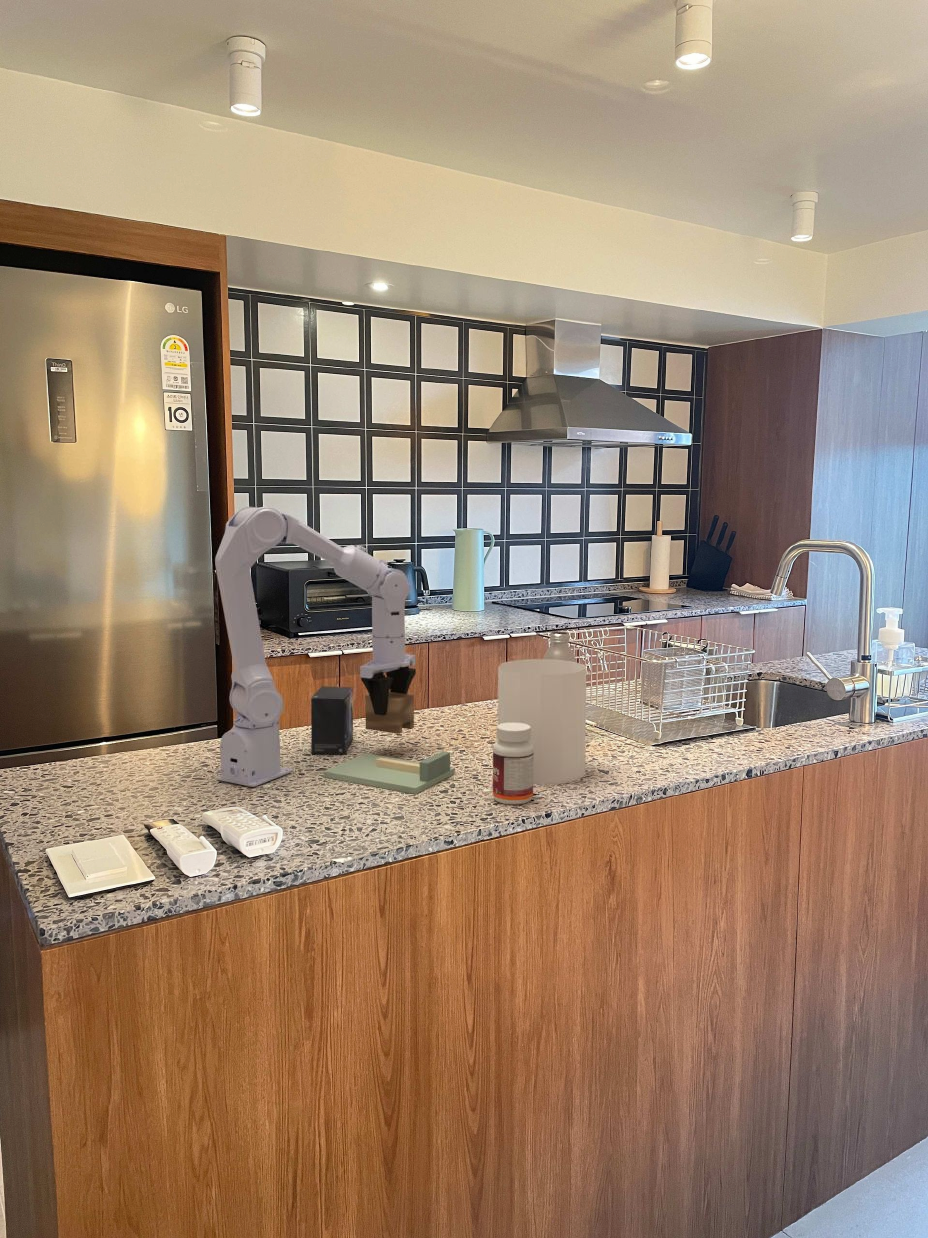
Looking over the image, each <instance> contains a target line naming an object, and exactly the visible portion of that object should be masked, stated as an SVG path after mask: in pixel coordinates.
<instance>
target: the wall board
mask: <svg viewBox="0 0 928 1238" xmlns="http://www.w3.org/2000/svg"><path fill="white" fill-rule="evenodd" d="M455 769H456V768H455V767H451V752H450V751H449V752H448V751H440V752H438V753H435V754H434V755H432V756H429V757H427V758H426V759H423V760H421V761H414V760H408V759H402V758H396V757H391V756H383V755H378V754H372V753H368V752H367V753H363V754H361V755H359V756H356V757H353V758H352V759H350V760H346V761H344V762H342V763H340V764H338V765H335V766H332V767H330V768H327V769H326V770H323V775H322V776H323V778H326V779H333V780H336V781H337V780H338V781H343V782H349V783H352V784H353V783H354V784H358V785H363V786H364V785H365V786H369V787H374V788H378V789H379V788H380V789H385V790H390V791H396V792H400V793H405V794H411V795H418V794H419V793H421V792H424V791H426V790H427V789H429V788H431V787H433V786H434V785H436V784H438V783H440V782H442V781H444V780H446V779H448V778H450V777H452V776H454V775H455V774H456V770H455Z"/></svg>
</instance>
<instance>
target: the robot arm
mask: <svg viewBox="0 0 928 1238" xmlns="http://www.w3.org/2000/svg"><path fill="white" fill-rule="evenodd" d="M278 544H287V545H288V544H293V545H295V546H298V547H299V548H302V549H303V550H305V551H307V552H309V553H311V554H312V555H314V556H317V557H318V558H320V559H322V560H325V561H326V562H329V563H330V564H332V567H333V570H334V573H335V574H336V575H337V576H338V577H340V578H342V579H343V580H346V581H348V582H349V583H351V584H353V585H355V586H357V587H359V588H360V589H362V590H363V591H366V592H367V594H368V595H369V597H371V620H372V621H371V624H372V625H371V629H372V630H371V631H372V634H371V635H372V638H371V639H372V643H371V644H372V660H370V661H368V662H367V663H365V664H363V665H361V666H359V676H360V680H361V682H362V684H363V685H364V687H365V689H366V691H367V693H368V695H369V696H370V699H371V702H372V706H373V710H374V713H375V714H376V715H386V713H387V706H388V695H389V692H394V693H402V694H408V692H409V689H410V686H411V684H412V681H413V680H414V678H415V676H416V674H417V672H416V670H417V669H416V668H411V667H414V666H416V665H417V664H416V663H417V662H416V659H417V658H416V654H408V653H406V646H405V645H406V644H405V643H406V634H405V633H406V631H405V630H406V629H405V628H406V627H405V625H406V623H405V622H406V621H405V614H406V613H405V608H406V605H405V604H406V599H407V597H408V596H409V595H410V592H411V588H412V584H411V583H409V579H408V577H407V575H406V574H405V573H404V571H402V570H400V569H398V568H390V567H388V561H386V560H384V559H380V560H379V559H377V558H375V557H374V556H372V555H371V554H369V553H367V552H366V551H367V548H365V547H364V546H362V545H356V546H355V545H353V544H351V545H347V546H344V547H342V546H340V545H339V544H337V543H336V542H334V541H332V540H331V539H329V538H328V537H326V536H324V535H323V534H321V533H319V532H318V531H317V530H315V529H313V528H312V527H310V526H308V525H307V524H306V523H303V522H302V521H300V520H299V519H297V518H295V517H293V516H291V515H290V514H288V513H284V512H282V513H281V512H280V511H279V510H278V509H275V508H274V507H271V506H262V507H254V506H245V507H242V508H241V509H239V510H238V511H236V512H235V513H234V514H233V515H232V517H230V519H228V521H227V522H226V524H225V529H224V534H223V537H222V539H221V543H220V544H219V547H218V550H217V553H216V555H215V559H214V562H215V564H214V565H215V569H216V570H215V571H216V575H217V581H218V587H219V591H220V598H221V604H222V608H223V614H224V621H225V625H226V630H227V631H226V632H227V636H228V640H229V642H228V643H229V646H230V647H229V648H230V653H231V657H232V663H233V669H232V672H231V676H230V677H231V689H230V692H229V704H230V706H231V708H232V709H233V710H234V711H235V712H236V714H235V717H234V719H233V726H232V728H231V729H230V730H228V731H227V732H225V733H223V735H222V736H221V739H220V742H219V752H220V753H219V755H220V775H219V776H218V777H217V780H218V781H221V782H227V783H231V784H236V785H237V784H238V785H241V786H242V785H243V786H247V787H250V788H251V787H252V788H253V787H257V786H259V785H262V784H265V783H267V782H269V781H272V780H274V779H275V780H276V779H278V778H280V777H282V776H285V775H288V774H291V773H292V772H293V770H292V768H288V767H283V766H281V747H280V746H281V745H280V743H281V742H280V741H281V740H280V718H281V717H280V716H281V715H282V713H283V711H284V699H283V697H282V695H281V694H280V692H279V691H278V689H276V688H277V687H276V685H275V683H274V678H273V675H272V673H271V672H270V669H269V668H268V665H267V662H266V661H267V660H266V656H265V650H264V645H263V639H262V633H261V628H260V627H261V625H260V622H259V616H258V615H259V614H258V611H257V605H256V599H255V592H254V587H253V582H252V576H251V568H252V567H253V566H254V565H255V563H256V562H257V561H258V559H259V558H260V557H261V556H262V555H263V554H265V553H266V552H267V551H269V550H271V549H272V548H274V547H275V546H277V545H278Z"/></svg>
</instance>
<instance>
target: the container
mask: <svg viewBox="0 0 928 1238" xmlns="http://www.w3.org/2000/svg"><path fill="white" fill-rule="evenodd" d="M497 697H498V698H497V726H498V725H499V724H502V723H524V724H527V725H529V726H530V727H531V738H530V739H529V740H527V741H529V742H530V743H531V744H532V745H533V748H534V763H533V764H534V766H533V785H538V786H543V785H545V786H546V785H563V784H567V783H571V782H575V781H578V780H580V779H581V778H582V777H584V776H585V775H586V741H587V740H586V734H587V733H586V728H587V727H586V726H587V725H586V724H587V718H586V717H587V667H586V666H585V664H583V663H580V662H577V661H576V662H572V661H565V660H555V659H543V658H529V659H516V660H510V661H505V662H501V663H500V664H499V665H498V667H497ZM497 741H499V739H497Z"/></svg>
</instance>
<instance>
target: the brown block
mask: <svg viewBox="0 0 928 1238" xmlns="http://www.w3.org/2000/svg"><path fill="white" fill-rule="evenodd" d="M364 697H365V708H364V709H365V712H364V713H365V729H366V730H371V731H378V732H384V733H390V734H396V735H399V734H402V733H403V729H405V730H412V729H414V728H415V695H414V694H408V693H407V694H402V693H394V692H390V691H389V695H388V706H387V713H386V715H376V714H375V713H374V710H373V706H372V702H371V699H370V696H369V694H366V695H365V696H364Z"/></svg>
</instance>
